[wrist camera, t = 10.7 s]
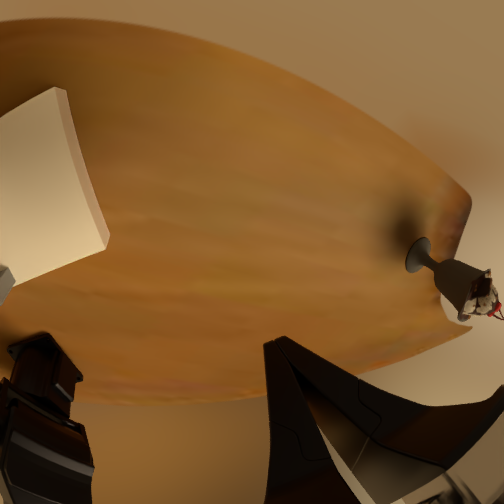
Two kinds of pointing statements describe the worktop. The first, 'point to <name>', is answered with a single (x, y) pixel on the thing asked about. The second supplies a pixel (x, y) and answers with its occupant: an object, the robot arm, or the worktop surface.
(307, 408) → the robot arm
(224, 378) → the worktop surface
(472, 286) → the sundae
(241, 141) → the worktop surface
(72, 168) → the deck
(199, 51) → the worktop surface
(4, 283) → the lane walls
